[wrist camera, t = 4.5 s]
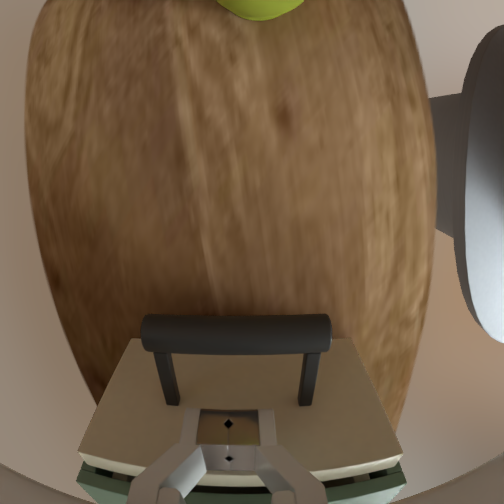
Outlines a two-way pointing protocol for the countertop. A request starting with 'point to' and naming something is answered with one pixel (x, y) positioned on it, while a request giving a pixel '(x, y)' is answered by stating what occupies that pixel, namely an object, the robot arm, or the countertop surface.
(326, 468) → the drawer
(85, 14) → the countertop surface
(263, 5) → the pear
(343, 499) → the cabinet
